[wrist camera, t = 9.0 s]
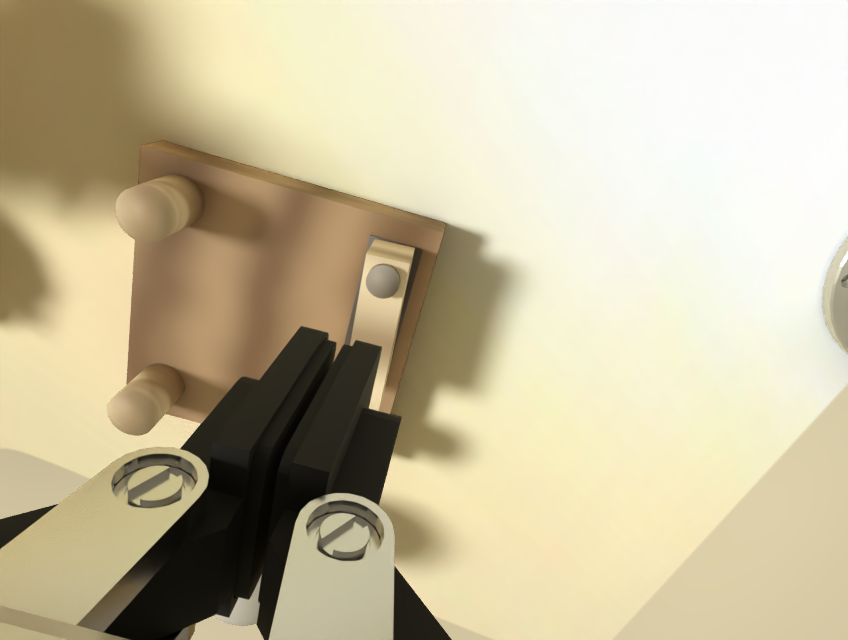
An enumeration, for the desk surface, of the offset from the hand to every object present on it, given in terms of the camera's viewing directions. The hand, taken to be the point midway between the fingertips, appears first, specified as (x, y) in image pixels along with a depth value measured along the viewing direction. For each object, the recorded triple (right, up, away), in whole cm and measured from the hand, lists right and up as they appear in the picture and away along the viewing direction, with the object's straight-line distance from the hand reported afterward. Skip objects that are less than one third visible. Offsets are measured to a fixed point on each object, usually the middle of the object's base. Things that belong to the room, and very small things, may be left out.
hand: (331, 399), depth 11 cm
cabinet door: (-1, +2, +23) cm, 23 cm away
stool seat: (-8, +2, +27) cm, 28 cm away
